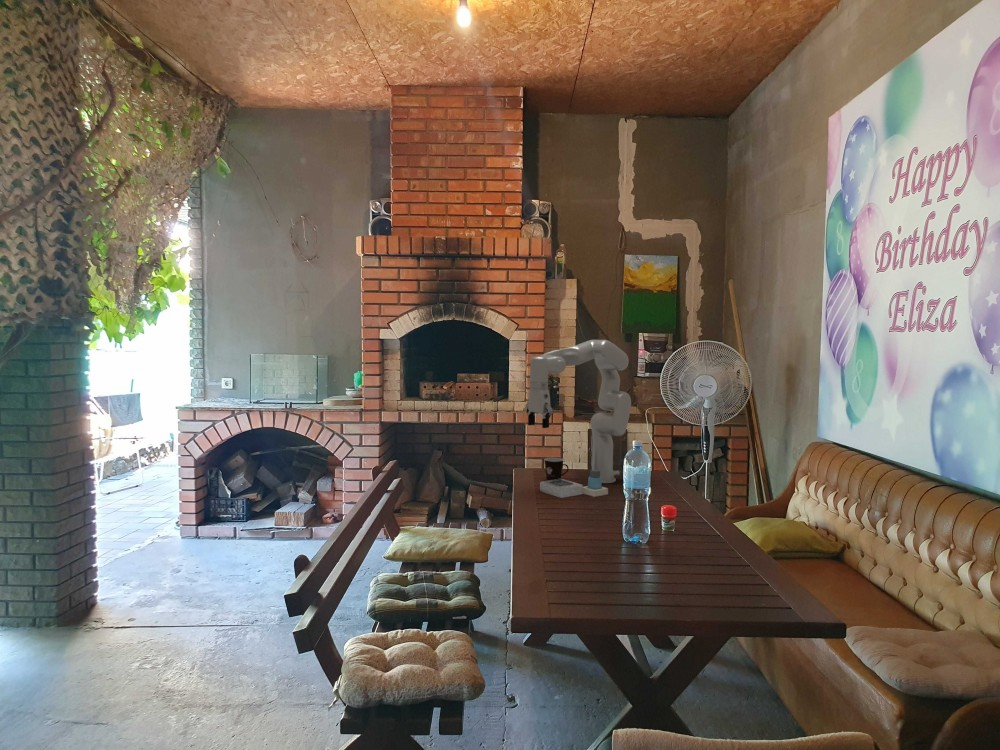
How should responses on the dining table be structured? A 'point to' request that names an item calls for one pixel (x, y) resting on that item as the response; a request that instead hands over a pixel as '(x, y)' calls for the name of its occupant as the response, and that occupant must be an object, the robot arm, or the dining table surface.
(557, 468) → the coffee mug
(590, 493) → the cream square frame
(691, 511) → the dining table surface
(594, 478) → the plug
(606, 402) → the robot arm
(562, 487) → the port panel
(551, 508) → the dining table surface
